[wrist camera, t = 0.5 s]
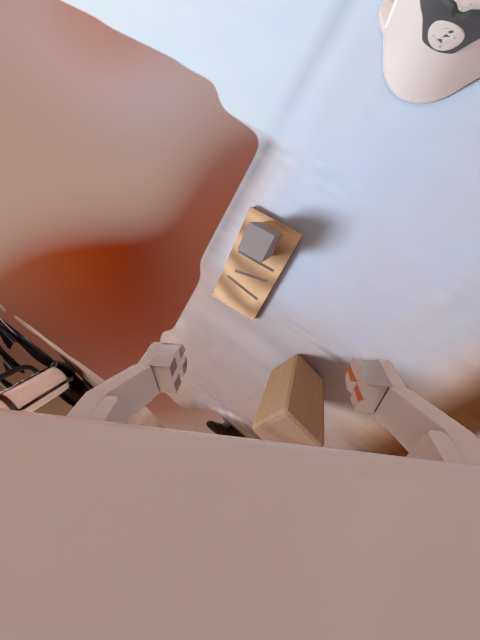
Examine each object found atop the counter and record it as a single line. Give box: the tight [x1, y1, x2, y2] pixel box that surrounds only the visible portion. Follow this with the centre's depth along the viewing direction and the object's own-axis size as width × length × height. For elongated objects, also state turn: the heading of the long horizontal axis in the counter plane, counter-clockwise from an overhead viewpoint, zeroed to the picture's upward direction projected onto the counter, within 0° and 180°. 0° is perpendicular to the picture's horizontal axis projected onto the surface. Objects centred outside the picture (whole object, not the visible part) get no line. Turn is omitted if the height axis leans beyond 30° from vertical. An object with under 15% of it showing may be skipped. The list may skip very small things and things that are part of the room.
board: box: [212, 207, 302, 320], centre depth 51 cm, size 22×12×2 cm, turn 155°
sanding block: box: [238, 222, 283, 263], centre depth 43 cm, size 5×5×9 cm
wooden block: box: [253, 355, 324, 447], centre depth 50 cm, size 10×10×20 cm
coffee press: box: [0, 361, 75, 412], centre depth 84 cm, size 17×16×30 cm
